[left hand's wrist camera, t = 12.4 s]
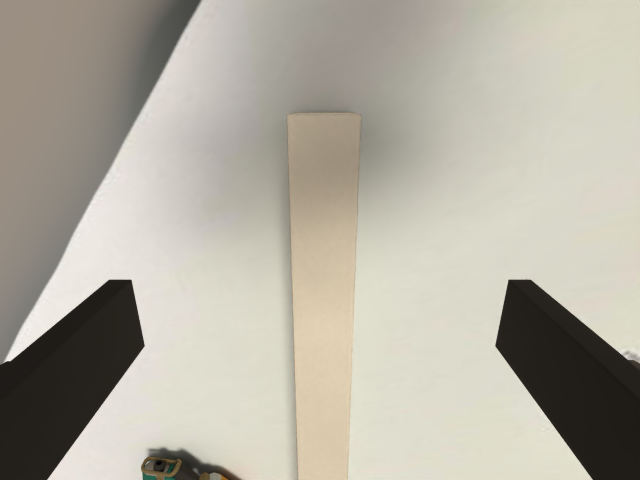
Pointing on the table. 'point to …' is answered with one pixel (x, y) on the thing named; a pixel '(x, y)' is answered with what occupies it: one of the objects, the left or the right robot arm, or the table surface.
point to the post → (323, 284)
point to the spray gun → (173, 471)
